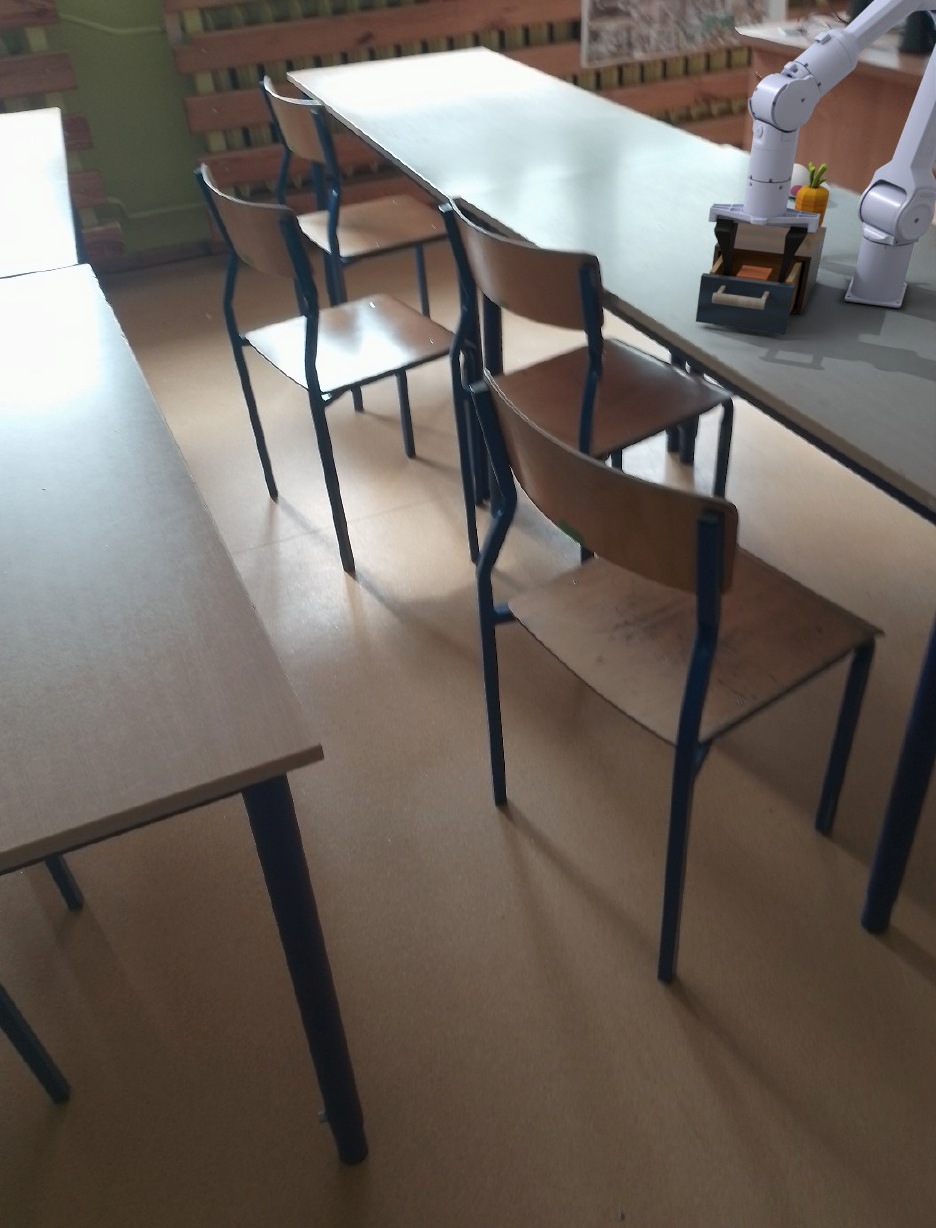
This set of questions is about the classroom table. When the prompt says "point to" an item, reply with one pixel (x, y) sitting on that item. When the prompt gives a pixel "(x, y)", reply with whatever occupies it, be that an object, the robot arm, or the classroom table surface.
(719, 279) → the drawer
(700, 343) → the classroom table surface
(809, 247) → the cabinet
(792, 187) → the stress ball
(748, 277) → the block
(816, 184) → the carrot
